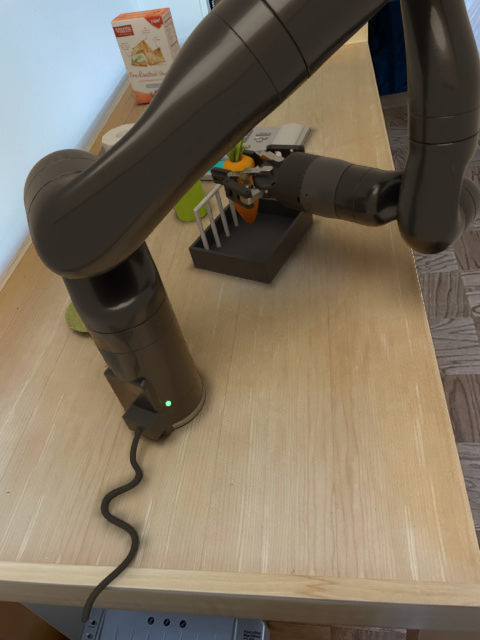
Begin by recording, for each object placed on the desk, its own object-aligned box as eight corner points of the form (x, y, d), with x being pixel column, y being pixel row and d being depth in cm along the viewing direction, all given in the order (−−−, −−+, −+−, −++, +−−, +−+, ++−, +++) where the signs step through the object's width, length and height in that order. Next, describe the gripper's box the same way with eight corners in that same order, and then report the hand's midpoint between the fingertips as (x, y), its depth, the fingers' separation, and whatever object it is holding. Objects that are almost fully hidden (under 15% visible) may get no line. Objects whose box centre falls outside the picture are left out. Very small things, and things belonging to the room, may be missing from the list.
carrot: (230, 230, 85) (207, 143, 75) (246, 213, 88) (225, 126, 78) (257, 235, 83) (237, 145, 73) (272, 217, 86) (254, 128, 75)
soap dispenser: (209, 220, 96) (179, 113, 83) (174, 222, 98) (138, 117, 85) (216, 202, 100) (188, 96, 87) (182, 204, 102) (150, 101, 89)
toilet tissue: (95, 178, 118) (79, 141, 112) (150, 155, 120) (138, 118, 114) (105, 194, 111) (89, 156, 105) (163, 170, 114) (151, 132, 108)
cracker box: (137, 105, 144) (108, 21, 129) (146, 95, 148) (119, 12, 133) (184, 102, 139) (160, 13, 125) (192, 92, 143) (169, 5, 129)
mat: (150, 316, 81) (146, 307, 79) (81, 352, 78) (76, 343, 77) (125, 280, 89) (121, 271, 87) (62, 311, 86) (56, 302, 85)
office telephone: (310, 119, 112) (284, 168, 99) (311, 130, 114) (286, 181, 101) (209, 122, 120) (173, 169, 107) (211, 133, 122) (177, 180, 109)
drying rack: (269, 284, 81) (257, 227, 74) (194, 267, 87) (177, 214, 80) (313, 223, 89) (306, 167, 82) (242, 212, 96) (230, 160, 89)
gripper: (346, 133, 71) (249, 119, 81) (283, 189, 65) (185, 166, 74) (350, 183, 76) (258, 163, 86) (292, 239, 70) (199, 211, 79)
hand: (225, 164), depth 80 cm, fingers closed on carrot, 5 cm apart
